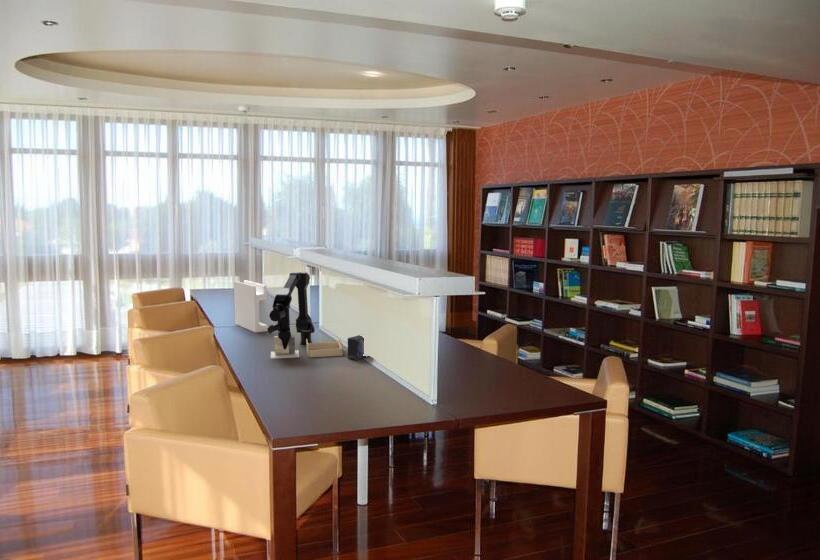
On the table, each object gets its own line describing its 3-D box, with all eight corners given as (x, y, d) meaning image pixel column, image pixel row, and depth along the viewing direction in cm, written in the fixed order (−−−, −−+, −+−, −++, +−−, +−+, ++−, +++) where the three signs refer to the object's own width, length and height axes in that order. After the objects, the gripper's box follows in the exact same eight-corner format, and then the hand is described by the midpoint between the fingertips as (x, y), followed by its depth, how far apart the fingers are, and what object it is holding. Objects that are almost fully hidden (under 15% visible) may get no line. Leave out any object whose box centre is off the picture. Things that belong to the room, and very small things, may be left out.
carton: (306, 349, 334) (306, 338, 333) (339, 348, 338) (339, 336, 337) (308, 357, 317) (307, 345, 317) (343, 355, 321) (342, 343, 320)
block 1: (235, 323, 410) (233, 280, 407) (247, 322, 414) (245, 279, 411) (255, 332, 381) (253, 286, 378) (268, 330, 386) (266, 285, 383)
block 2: (274, 351, 325) (274, 336, 324) (294, 350, 327) (294, 335, 326) (274, 353, 320) (274, 338, 319) (295, 352, 322) (294, 337, 321)
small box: (356, 360, 310) (356, 339, 309) (347, 358, 314) (346, 338, 313) (371, 356, 319) (370, 335, 317) (361, 354, 322) (360, 334, 321)
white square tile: (270, 352, 329) (270, 351, 329) (298, 351, 332) (298, 350, 332) (270, 358, 315) (270, 357, 315) (299, 357, 318) (299, 356, 318)
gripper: (267, 315, 328) (268, 345, 330) (267, 322, 310) (268, 353, 312) (289, 314, 331) (290, 343, 333) (290, 321, 313) (291, 352, 315)
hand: (284, 348), depth 323 cm, fingers closed on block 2, 5 cm apart
